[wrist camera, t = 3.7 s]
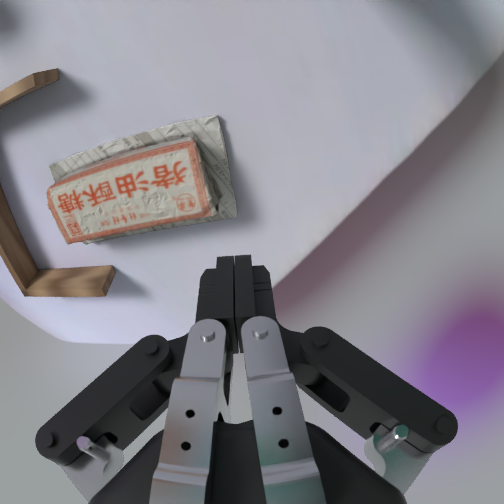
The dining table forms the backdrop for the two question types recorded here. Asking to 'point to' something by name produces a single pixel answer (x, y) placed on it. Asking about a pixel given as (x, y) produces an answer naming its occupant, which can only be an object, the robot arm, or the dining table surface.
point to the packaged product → (144, 183)
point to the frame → (14, 249)
